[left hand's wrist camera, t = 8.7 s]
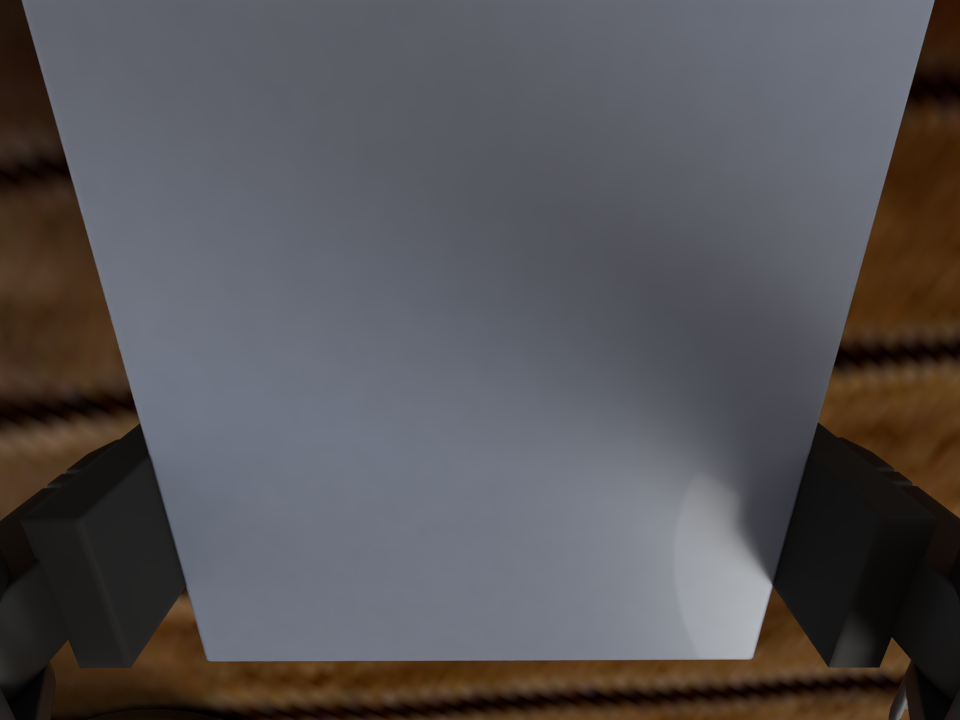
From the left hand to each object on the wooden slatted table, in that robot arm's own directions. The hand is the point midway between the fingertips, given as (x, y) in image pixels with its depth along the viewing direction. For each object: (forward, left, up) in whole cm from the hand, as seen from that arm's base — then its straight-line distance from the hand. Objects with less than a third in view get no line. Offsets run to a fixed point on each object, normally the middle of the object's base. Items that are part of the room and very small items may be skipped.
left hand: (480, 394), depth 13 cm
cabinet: (+1, +6, -5) cm, 8 cm away
